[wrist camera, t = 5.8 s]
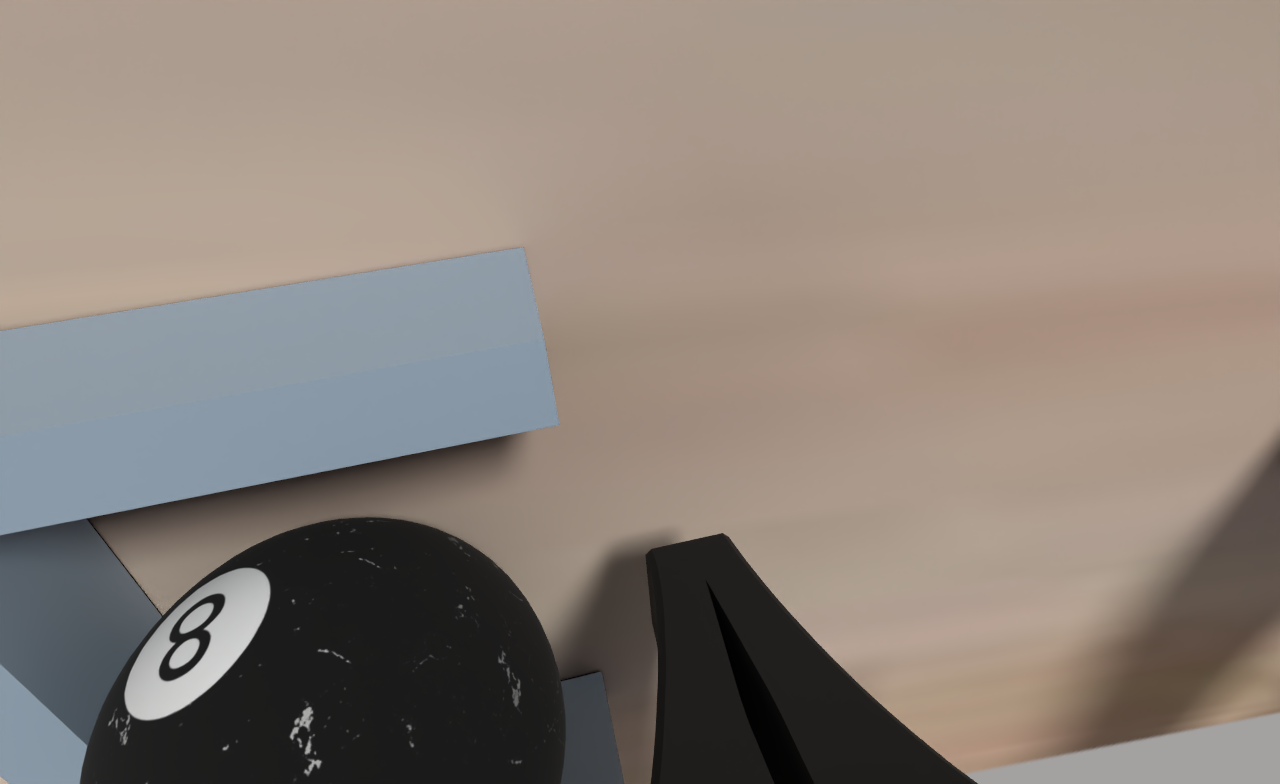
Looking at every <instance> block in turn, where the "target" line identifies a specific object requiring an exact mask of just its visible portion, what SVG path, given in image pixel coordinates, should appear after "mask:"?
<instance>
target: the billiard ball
mask: <svg viewBox="0 0 1280 784" xmlns="http://www.w3.org/2000/svg"><path fill="white" fill-rule="evenodd" d="M565 742H566V717H565V707H564V698H563V691H562V686H561V681H560V676H559V672H558V669H557V665H556V662H555V659H554V655H553V652H552V649H551V646H550V644H549V641H548V639H547V637H546V634H545V632H544V630H543V628H542V625H541V623H540V621H539V619H538V618H537V616H536V614H535V612H534V611H533V609H532V607H531V606H530V604H529V602H528V601H527V599H526V598H525V596H524V595H523V594H522V592H521V591H520V590H519V588H518V587H517V586H516V585H515V583H514V582H513V581H512V580H511V579H510V577H509V576H508V575H507V574H506V573H505V572H504V571H503V570H502V569H501V568H499V567H498V566H497V565H496V564H495V563H494V562H493V561H492V560H491V559H490V558H488V557H487V556H485V555H484V554H483V553H481V552H480V551H479V550H477V549H476V548H474V547H473V546H471V545H469V544H468V543H466V542H464V541H462V540H461V539H459V538H457V537H454V536H452V535H450V534H447V533H445V532H443V531H440V530H438V529H435V528H432V527H429V526H426V525H422V524H418V523H414V522H409V521H404V520H397V519H388V518H369V517H365V518H349V519H338V520H331V521H325V522H320V523H316V524H312V525H308V526H304V527H300V528H296V529H293V530H290V531H287V532H284V533H281V534H279V535H276V536H274V537H272V538H270V539H267V540H265V541H263V542H261V543H259V544H257V545H254V546H252V547H250V548H249V549H247V550H245V551H243V552H241V553H240V554H238V555H236V556H234V557H233V558H231V559H230V560H229V561H227V562H226V563H224V564H223V565H221V566H220V567H218V568H217V569H216V570H214V571H213V572H211V573H210V574H208V575H207V576H206V577H204V578H203V579H202V580H201V581H200V582H198V583H197V584H196V585H195V586H194V587H192V588H191V589H190V590H189V591H188V592H187V593H186V594H185V595H183V596H182V597H181V598H180V599H179V600H178V601H177V602H176V603H175V604H174V605H173V606H172V607H171V608H170V609H169V610H168V611H167V612H166V613H165V614H164V615H163V616H162V618H161V619H160V620H159V621H158V622H157V623H156V624H155V625H154V626H153V627H152V629H151V630H150V631H149V633H148V634H147V635H146V636H145V638H144V639H143V640H142V642H141V643H140V644H139V646H138V647H137V648H136V650H135V651H134V652H133V654H132V655H131V656H130V658H129V659H128V661H127V662H126V664H125V666H124V667H123V669H122V671H121V672H120V674H119V675H118V677H117V679H116V681H115V682H114V684H113V686H112V688H111V689H110V691H109V693H108V695H107V697H106V699H105V701H104V703H103V705H102V708H101V710H100V712H99V715H98V717H97V720H96V723H95V726H94V728H93V731H92V734H91V737H90V740H89V743H88V746H87V750H86V754H85V758H84V762H83V766H82V771H81V778H80V784H561V779H562V773H563V767H564V756H565Z"/></svg>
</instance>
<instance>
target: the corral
mask: <svg viewBox="0 0 1280 784" xmlns="http://www.w3.org/2000/svg"><path fill="white" fill-rule="evenodd" d="M557 425H560V424H559V419H558V413H557V408H556V402H555V397H554V391H553V386H552V380H551V375H550V369H549V363H548V358H547V352H546V347H545V341H544V336H543V332H542V327H541V323H540V318H539V314H538V310H537V305H536V301H535V296H534V292H533V287H532V283H531V278H530V274H529V269H528V265H527V260H526V256H525V251H524V247H521V248H515V249H509V250H503V251H496V252H490V253H484V254H478V255H471V256H465V257H459V258H453V259H446V260H440V261H434V262H428V263H421V264H415V265H409V266H403V267H396V268H390V269H384V270H378V271H372V272H365V273H359V274H353V275H347V276H340V277H334V278H328V279H322V280H315V281H309V282H303V283H297V284H290V285H284V286H278V287H272V288H265V289H259V290H253V291H247V292H241V293H234V294H228V295H222V296H216V297H209V298H203V299H197V300H191V301H184V302H178V303H172V304H166V305H159V306H153V307H147V308H141V309H134V310H128V311H122V312H116V313H110V314H103V315H97V316H91V317H85V318H78V319H72V320H66V321H60V322H53V323H47V324H41V325H35V326H28V327H22V328H16V329H10V330H3V331H0V776H1V777H2V778H3V779H5V780H6V781H7V782H8V783H10V784H80V778H81V771H82V766H83V762H84V758H85V754H86V750H87V746H88V743H89V740H90V737H91V734H92V731H93V728H94V726H95V723H96V720H97V717H98V715H99V712H100V710H101V708H102V705H103V703H104V701H105V699H106V697H107V695H108V693H109V691H110V689H111V688H112V686H113V684H114V682H115V681H116V679H117V677H118V675H119V674H120V672H121V671H122V669H123V667H124V666H125V664H126V662H127V661H128V659H129V658H130V656H131V655H132V654H133V652H134V651H135V650H136V648H137V647H138V646H139V644H140V643H141V642H142V640H143V639H144V638H145V636H146V635H147V634H148V633H149V631H150V630H151V629H152V627H153V626H154V625H155V624H156V623H157V622H158V621H159V620H160V619H161V618H162V616H161V615H160V613H159V612H158V611H157V609H156V608H155V607H154V606H153V604H152V603H151V602H150V600H149V599H148V598H147V597H146V595H145V594H144V593H143V591H142V590H141V589H140V587H139V586H138V585H137V584H136V582H135V581H134V580H133V578H132V577H131V576H130V575H129V573H128V572H127V571H126V569H125V568H124V567H123V565H122V564H121V563H120V562H119V560H118V559H117V558H116V556H115V555H114V554H113V553H112V551H111V550H110V549H109V547H108V546H107V545H106V544H105V542H104V541H103V540H102V538H101V537H100V536H99V534H98V533H97V532H96V531H95V529H94V528H93V527H92V525H91V524H90V523H89V522H88V520H87V519H86V518H90V517H95V516H100V515H106V514H111V513H116V512H121V511H126V510H131V509H136V508H141V507H146V506H151V505H156V504H161V503H166V502H172V501H177V500H182V499H187V498H192V497H197V496H202V495H207V494H212V493H217V492H222V491H227V490H232V489H237V488H243V487H248V486H253V485H258V484H263V483H268V482H273V481H278V480H283V479H288V478H293V477H298V476H303V475H309V474H314V473H319V472H324V471H329V470H334V469H339V468H344V467H349V466H354V465H359V464H364V463H369V462H374V461H380V460H385V459H390V458H395V457H400V456H405V455H410V454H415V453H420V452H425V451H430V450H435V449H440V448H446V447H451V446H456V445H461V444H466V443H471V442H476V441H481V440H486V439H491V438H496V437H501V436H506V435H511V434H517V433H522V432H527V431H532V430H537V429H542V428H547V427H552V426H557ZM561 686H562V691H563V698H564V707H565V717H566V742H565V756H564V767H563V773H562V779H561V784H624V780H623V775H622V770H621V765H620V760H619V755H618V750H617V745H616V740H615V735H614V730H613V725H612V720H611V716H610V711H609V706H608V701H607V696H606V691H605V686H604V681H603V676H602V672H598V673H594V674H590V675H586V676H581V677H577V678H573V679H569V680H565V681H561Z"/></svg>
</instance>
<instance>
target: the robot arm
mask: <svg viewBox="0 0 1280 784" xmlns="http://www.w3.org/2000/svg"><path fill="white" fill-rule="evenodd" d="M646 565H647V575H648V585H649V595H650V605H651V615H652V624H653V628H654V632H655V637H656V642H657V647H658V692H657V714H656V733H655V746H654V758H653V769H652V778H651V784H977V783H976V782H975V781H973V780H972V779H970V778H969V777H968V776H967V775H965V774H964V773H963V772H961V771H960V770H959V769H957V768H956V767H955V766H953V765H952V764H951V763H950V762H948V761H947V760H946V759H945V758H943V757H942V756H941V755H940V754H938V753H937V752H936V751H935V750H934V749H932V748H931V747H930V746H929V745H927V744H926V743H925V742H924V741H923V740H921V739H920V738H919V737H918V736H917V735H915V734H914V733H913V732H912V731H911V730H909V729H908V728H907V727H906V726H905V725H904V724H902V723H901V722H900V721H899V720H898V719H897V718H896V717H894V716H893V715H892V714H891V713H890V712H889V711H887V710H886V709H885V708H884V707H883V706H882V705H881V704H880V703H879V702H878V701H876V700H875V699H874V698H873V697H872V696H871V695H870V694H869V693H868V692H867V691H866V690H865V689H863V688H862V687H861V686H860V685H859V684H858V683H857V682H856V681H855V680H854V679H853V678H852V677H851V676H850V675H849V674H848V673H847V672H846V671H845V670H844V669H843V668H842V667H841V666H840V665H839V664H838V663H837V662H836V661H835V660H834V659H833V658H832V657H831V656H830V655H829V654H828V653H827V652H826V651H825V650H824V649H823V648H822V647H821V646H820V645H819V644H818V643H817V642H816V641H815V640H814V639H813V638H812V637H811V635H810V634H809V633H808V632H807V631H806V630H805V629H804V628H803V627H802V626H801V625H800V624H799V622H798V621H797V620H796V619H795V618H794V617H793V616H792V615H791V614H790V613H789V612H788V610H787V609H786V608H785V607H784V606H783V605H782V604H781V602H780V601H779V600H778V599H777V598H776V597H775V595H774V594H773V593H772V592H771V591H770V590H769V588H768V587H767V586H766V585H765V584H764V582H763V581H762V580H761V579H760V577H759V576H758V575H757V574H756V573H755V571H754V570H753V569H752V568H751V566H750V565H749V564H748V562H747V561H746V560H745V558H744V557H743V556H742V554H741V553H740V552H739V550H738V549H737V548H736V546H735V545H734V544H733V542H732V541H731V539H730V538H729V537H728V536H726V535H725V534H723V533H721V534H717V535H712V536H708V537H703V538H699V539H694V540H690V541H685V542H681V543H676V544H672V545H667V546H663V547H658V548H654V549H651V550H650V551H649V552H648V553H647V554H646Z"/></svg>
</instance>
